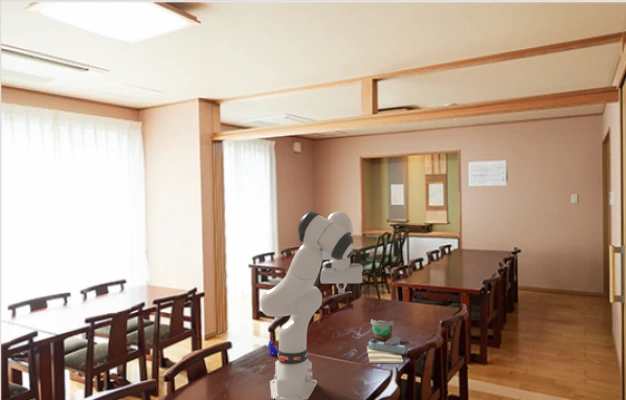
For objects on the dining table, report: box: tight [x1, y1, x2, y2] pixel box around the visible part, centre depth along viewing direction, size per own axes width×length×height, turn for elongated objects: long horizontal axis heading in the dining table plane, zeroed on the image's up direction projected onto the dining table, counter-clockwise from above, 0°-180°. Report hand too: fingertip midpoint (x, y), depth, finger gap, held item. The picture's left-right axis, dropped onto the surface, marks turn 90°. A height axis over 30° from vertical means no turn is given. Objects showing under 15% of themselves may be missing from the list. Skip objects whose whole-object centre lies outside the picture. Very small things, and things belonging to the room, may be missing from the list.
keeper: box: [383, 336, 401, 347], centre depth 210 cm, size 4×11×6 cm, turn 147°
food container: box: [370, 318, 395, 342], centre depth 229 cm, size 12×6×10 cm, turn 62°
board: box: [366, 337, 404, 364], centre depth 206 cm, size 20×15×5 cm
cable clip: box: [268, 340, 279, 357], centre depth 213 cm, size 12×4×6 cm, turn 111°
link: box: [368, 340, 406, 355], centre depth 210 cm, size 18×4×3 cm, turn 60°
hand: (341, 292), depth 210 cm, fingers closed
